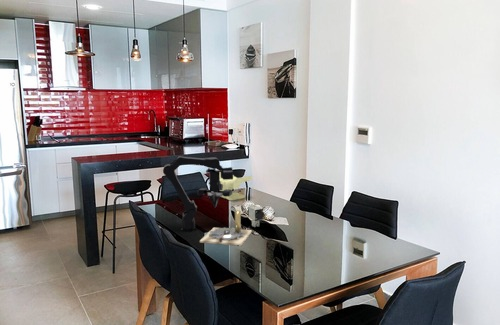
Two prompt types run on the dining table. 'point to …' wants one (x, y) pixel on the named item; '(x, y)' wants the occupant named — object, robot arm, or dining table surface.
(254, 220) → the pneumatic valve
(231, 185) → the slatted curved stool
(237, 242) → the sprocket base
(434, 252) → the dining table surface
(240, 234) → the sprocket
